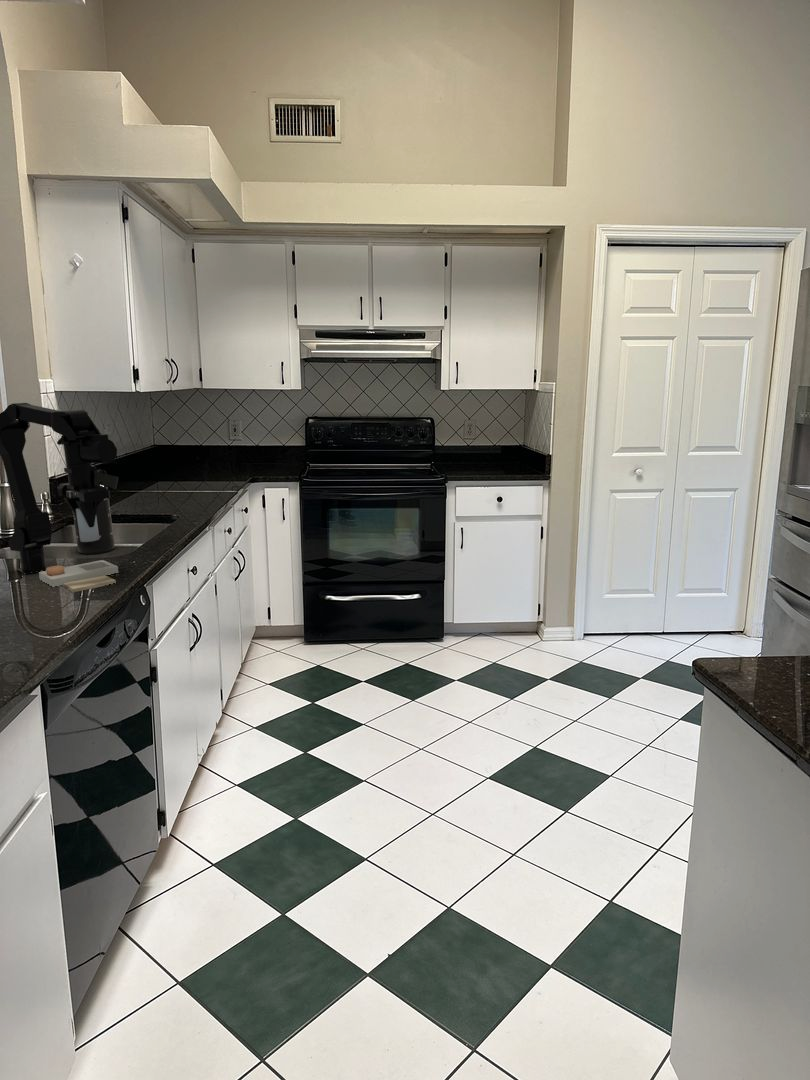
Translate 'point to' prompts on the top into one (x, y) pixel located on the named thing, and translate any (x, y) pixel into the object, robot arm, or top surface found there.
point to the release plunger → (55, 570)
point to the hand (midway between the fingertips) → (87, 526)
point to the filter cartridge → (86, 529)
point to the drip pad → (89, 583)
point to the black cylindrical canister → (104, 531)
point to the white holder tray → (79, 572)
